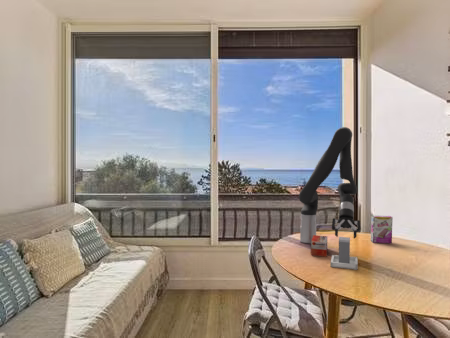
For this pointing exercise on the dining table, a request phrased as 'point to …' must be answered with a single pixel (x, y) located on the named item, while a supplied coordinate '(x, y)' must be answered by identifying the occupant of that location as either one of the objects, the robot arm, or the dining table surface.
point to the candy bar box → (381, 229)
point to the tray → (336, 263)
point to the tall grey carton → (344, 250)
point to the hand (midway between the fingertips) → (345, 237)
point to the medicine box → (319, 246)
